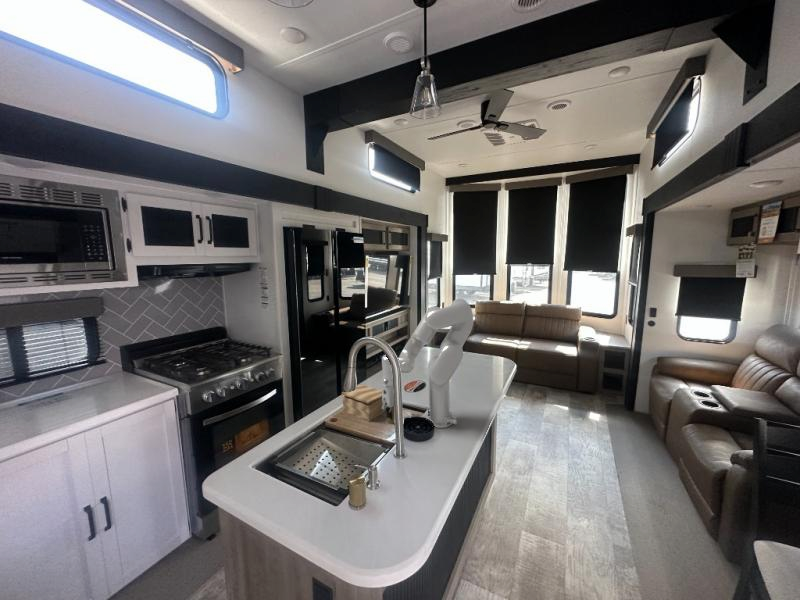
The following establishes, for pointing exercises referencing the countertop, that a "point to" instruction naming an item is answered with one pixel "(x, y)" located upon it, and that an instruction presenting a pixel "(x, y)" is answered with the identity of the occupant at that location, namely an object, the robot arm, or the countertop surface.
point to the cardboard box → (362, 408)
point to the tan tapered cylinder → (392, 416)
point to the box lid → (364, 394)
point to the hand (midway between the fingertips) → (392, 416)
